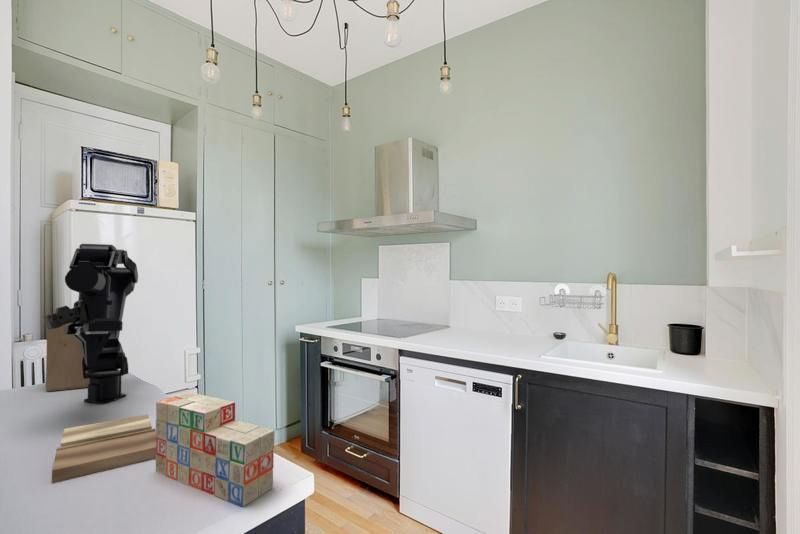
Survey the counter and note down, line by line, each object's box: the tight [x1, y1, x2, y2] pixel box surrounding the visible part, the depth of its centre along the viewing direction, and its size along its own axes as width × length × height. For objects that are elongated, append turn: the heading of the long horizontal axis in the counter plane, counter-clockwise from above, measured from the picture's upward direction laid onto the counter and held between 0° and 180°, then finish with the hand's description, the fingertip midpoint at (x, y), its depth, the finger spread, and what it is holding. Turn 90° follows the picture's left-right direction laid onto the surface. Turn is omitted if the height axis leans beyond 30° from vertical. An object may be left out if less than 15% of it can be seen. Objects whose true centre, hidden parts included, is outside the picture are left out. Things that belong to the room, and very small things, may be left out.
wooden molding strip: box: [51, 427, 156, 484], centre depth 72 cm, size 10×15×2 cm, turn 128°
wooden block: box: [45, 324, 90, 392], centre depth 114 cm, size 10×10×20 cm
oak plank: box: [60, 413, 153, 447], centre depth 79 cm, size 3×14×8 cm
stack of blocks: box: [155, 391, 275, 507], centre depth 65 cm, size 21×6×12 cm, turn 63°
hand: (89, 365), depth 90 cm, fingers closed
